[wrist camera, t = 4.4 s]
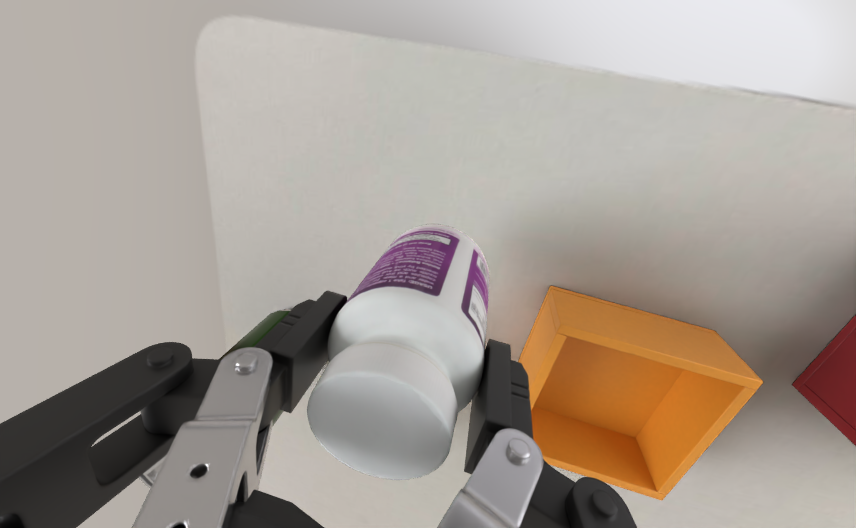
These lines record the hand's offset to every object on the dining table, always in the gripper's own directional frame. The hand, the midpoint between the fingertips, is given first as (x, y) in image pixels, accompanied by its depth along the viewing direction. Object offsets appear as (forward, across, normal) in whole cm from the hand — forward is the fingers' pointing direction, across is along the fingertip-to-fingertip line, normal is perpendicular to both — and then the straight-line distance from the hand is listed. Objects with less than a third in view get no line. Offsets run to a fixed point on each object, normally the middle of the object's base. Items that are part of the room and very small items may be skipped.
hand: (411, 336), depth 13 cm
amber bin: (+10, -12, +6) cm, 17 cm away
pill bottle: (+6, 0, 0) cm, 6 cm away
